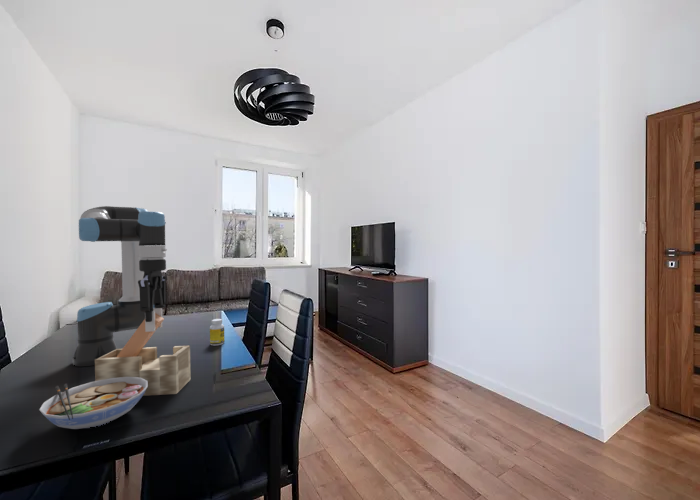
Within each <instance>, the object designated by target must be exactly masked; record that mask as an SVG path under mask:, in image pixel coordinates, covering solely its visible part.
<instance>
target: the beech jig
mask: <svg viewBox="0 0 700 500" xmlns="http://www.w3.org/2000/svg"><path fill="white" fill-rule="evenodd" d="M122 349H123V347H122V348H117V349H116V350H114V351H112V352H110V353H108V354H106V355H104V356H102V357H100V358H98V359H96V360H95V365H94V375H95V376H94V379H95V380H94V381H99V380H104V379H109V378H117V377H139V378H142V379H145V380H147V381H148V387H147V389H146V391H145V393H144V394H143V396H142V397H145V396H160V395H162V396H163V395H165V396H166V395H177V394H178V393H179V392H180V391H181V390H182V389H183V388H184V387H185V386H186V385H187V384H188V383H189V382H190V381H191V376H192V374H191V346H190V345H174V346H173V347H172V354H162V355H159V357H158V346H151V347H150V346H149V347H146V346H144V347H143V348H142V350H141V351H140V352H139V354H138V355H137V356H135V357H117V355H118V354H119V353H120V351H121V350H122Z"/></svg>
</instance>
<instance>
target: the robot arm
mask: <svg viewBox="0 0 700 500" xmlns="http://www.w3.org/2000/svg"><path fill="white" fill-rule="evenodd" d="M165 217H166V216H165V214H164V213H163V212H160V211H149V210H148V209H146V208H143V207H141V208H140V207H128V206H109V205H105V206H103V205H101V206H96V207H93V208H90V209H87V210H84V211H83V212H82V214H81V215H80V218H79V219H78V238H79V240H80V241H82V242H90V243H91V242H93V243H96V242H120V243H121V278H122V279H121V283H122V285H121V286H122V297H120V298H118V304H113V302H112V301H105V302H99V303H94V304H89V305H85V306H83V307H81V308H80V309H78V310H77V312H76V313H77V314H76V315H77V316H76V318H77V319H76V322H77V345H76V349H75V351H74V354H73V357H72V366H74V365H75V366H74V367H91V366H95V360H96V359H98V358H100V357H102V356H104V355H106V354H108V353H110V352H112V351H114V350H116V349H118V346H117V345H116V342H115V340H114V333H119V332H126V331H131V330H132V331H133V330H137V329H138V327H139V326H140V325H141V323H142V322H143V321H144V319H145V332H151V331H155V313H156V314H158V315H159V316H161V317H162V318H163V308H166V307H167V306H166V304H167V303H166V302H167V301H166V300H167V298H166V297H167V293H166V292H167V290H166V287H167V285H166V283H167V275H165V276H164V275H163V273H162V272H163V271H165V270H166V269H167V260H166V259H165V258H166V252H167V250H168V249H167V248H166V224H167V223H166V219H165ZM163 322H164V321H163ZM163 322H162V323H161V324H160V326H159V327H158V328H159V329H160V328H163ZM158 328H157V329H158ZM155 332H156V331H155Z"/></svg>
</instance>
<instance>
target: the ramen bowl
mask: <svg viewBox="0 0 700 500" xmlns="http://www.w3.org/2000/svg"><path fill="white" fill-rule="evenodd" d="M147 387H148V381H147V380H145V379H142V378H139V377H117V378H109V379H104V380H99V381H95V380H94V381H89V382H87V383H86V382H85V383H83V384H80V385H77V386H74V387H71V388H69V387H68V383H64V384H63V388H64V391H61V389H60V387H59V385H55V389H56V392H57V393H56V394H55V395H53V396H52V397H50V398H48V399H46V400H44V402H43V403H42V404H41V406H40V408H38V411H40V412H41V414H42V415H43V416H44V417H45V418H46V419H47V420H48V421H49V422H50V423H51V424H53V425H55V426H57V427H59V428H63V429H70V430H79V429H81V430H82V429H91V428H90V427H95V428H97V427H96V426H98V427H101V425H102V426H104V425H107V424H109V423H111V422H112V421H114V420H117V419H118V418H120V417H122V416H123V415H125V414H127V413H128V412H130V411H131V410H132V409H133V408H134V407H135V405H137V404H138V403H139V401H140V400H141V399H142V397H144V396H143V394H144V393H145V391H146V389H147ZM68 388H69V389H68ZM110 421H111V422H110ZM106 423H107V424H106ZM103 424H104V425H103Z"/></svg>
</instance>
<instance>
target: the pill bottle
mask: <svg viewBox="0 0 700 500" xmlns="http://www.w3.org/2000/svg"><path fill="white" fill-rule="evenodd" d="M225 342H226V341H225V325H224V324H223V319H221V318H214V319H211V325H210V326H209V344H210V345H211V346H222V345H223V344H225Z"/></svg>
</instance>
